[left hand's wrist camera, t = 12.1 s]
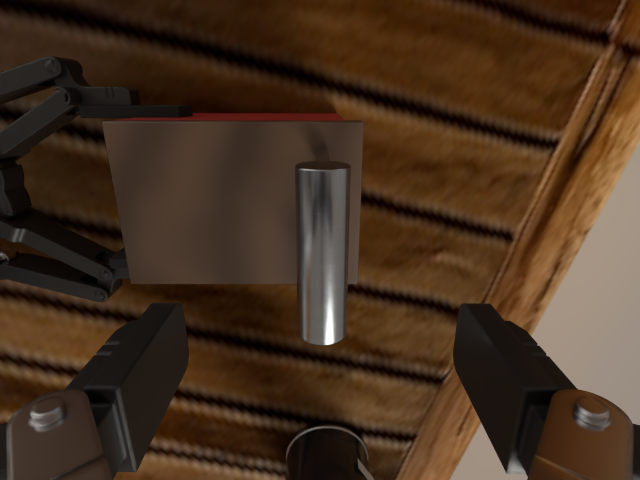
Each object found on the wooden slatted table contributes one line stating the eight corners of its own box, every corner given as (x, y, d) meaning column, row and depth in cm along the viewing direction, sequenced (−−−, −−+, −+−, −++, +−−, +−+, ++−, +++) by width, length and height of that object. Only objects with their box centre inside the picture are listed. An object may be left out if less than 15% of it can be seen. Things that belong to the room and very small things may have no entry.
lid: (361, 120, 23) (389, 135, 14) (356, 277, 26) (375, 369, 17) (110, 120, 23) (-24, 134, 14) (137, 276, 26) (44, 369, 17)
